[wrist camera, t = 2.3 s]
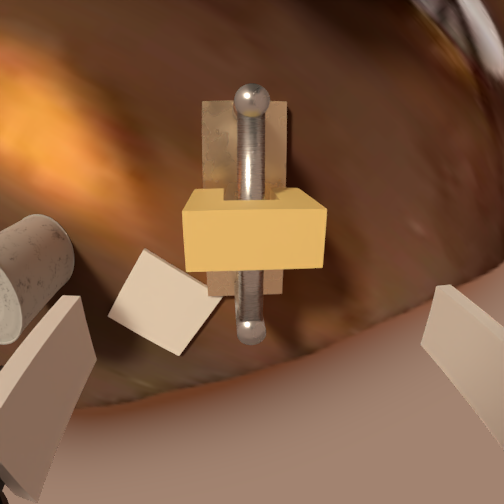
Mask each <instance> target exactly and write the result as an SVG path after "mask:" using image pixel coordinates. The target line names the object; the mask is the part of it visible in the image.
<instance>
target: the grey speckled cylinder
mask: <svg viewBox="0 0 504 504" xmlns="http://www.w3.org/2000/svg"><path fill="white" fill-rule="evenodd" d="M73 269H74V251H73V246H72V244H71V241H70V239H69V237H68V235H67V233H66V232H65V230H64V229H63V228H62V227H61V226H60V225H59V223H57V222H56V221H55V220H53V219H52V218H50V217H47V216H45V215H40V214H34V215H29V216H27V217H25V218H23V219H22V220H21V221H19V222H17V223H16V224H14V225H12V226H10V227H8V228H6V229H4V230H3V231H1V232H0V344H3V345H6V344H10V343H13V342H14V341H16V340H17V339H18V337H19V336H20V334H21V332H22V331H23V330H24V329H25V328H26V326H27V325H28V324H29V323H30V322H31V321H32V319H33V318H34V317H35V316H36V315H37V314H38V312H39V311H40V310H41V309H42V308H43V307H44V306H45V305H46V303H47V302H48V301H49V300H50V299H51V298H52V297H53V296H54V295H55V293H56V292H57V291H58V290H59V289H60V288H61V287H62V286H63V285H65V284H66V283H67V281H68V280H69V279H70V277H71V275H72V273H73Z"/></svg>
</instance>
